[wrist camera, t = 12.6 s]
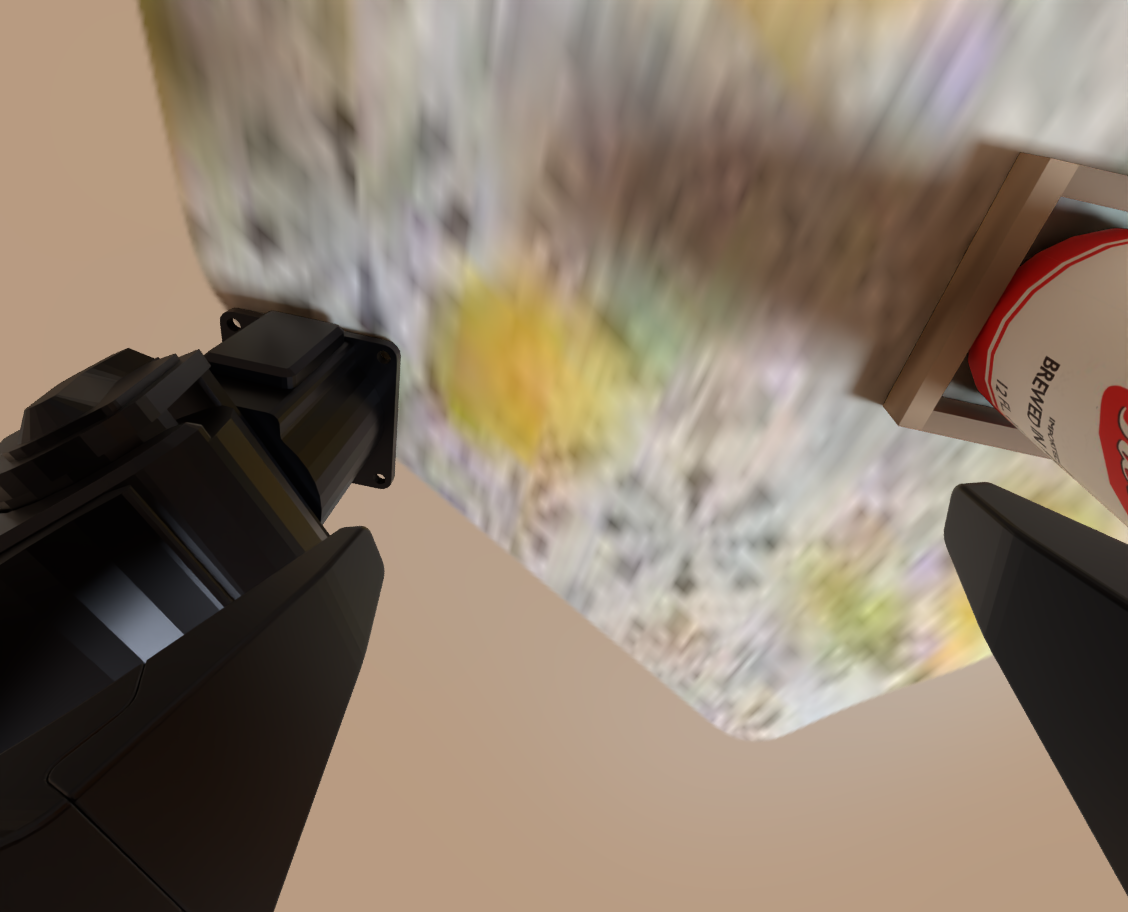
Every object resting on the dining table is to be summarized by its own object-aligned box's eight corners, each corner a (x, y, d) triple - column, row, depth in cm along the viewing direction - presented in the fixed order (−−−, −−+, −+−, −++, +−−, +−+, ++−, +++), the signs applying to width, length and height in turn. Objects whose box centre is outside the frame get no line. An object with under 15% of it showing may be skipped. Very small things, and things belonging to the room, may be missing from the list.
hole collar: (1104, 454, 22) (1133, 477, 21) (882, 405, 22) (898, 426, 21) (1296, 216, 18) (1348, 227, 16) (1020, 152, 17) (1051, 158, 16)
